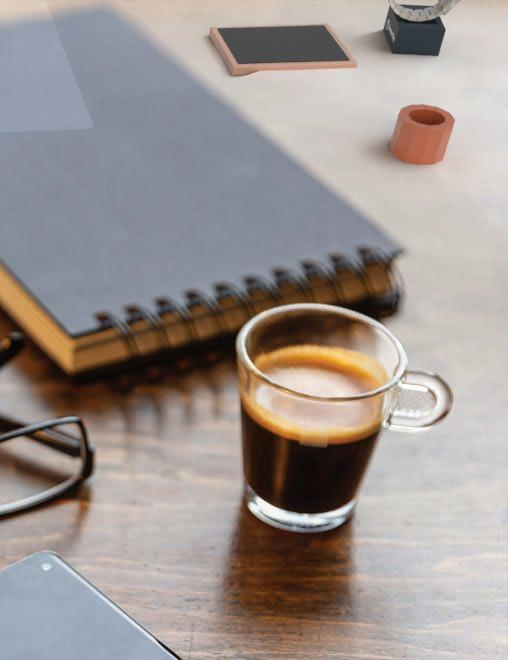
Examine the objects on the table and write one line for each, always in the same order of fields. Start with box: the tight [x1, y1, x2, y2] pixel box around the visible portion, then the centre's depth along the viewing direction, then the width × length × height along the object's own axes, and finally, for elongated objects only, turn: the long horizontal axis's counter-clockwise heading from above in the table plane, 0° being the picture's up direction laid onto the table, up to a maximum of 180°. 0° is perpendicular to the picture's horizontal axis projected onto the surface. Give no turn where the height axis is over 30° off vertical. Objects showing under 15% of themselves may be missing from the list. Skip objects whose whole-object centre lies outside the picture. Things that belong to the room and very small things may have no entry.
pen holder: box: [388, 103, 456, 166], centre depth 110 cm, size 4×4×5 cm
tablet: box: [208, 23, 358, 76], centre depth 128 cm, size 12×9×1 cm
